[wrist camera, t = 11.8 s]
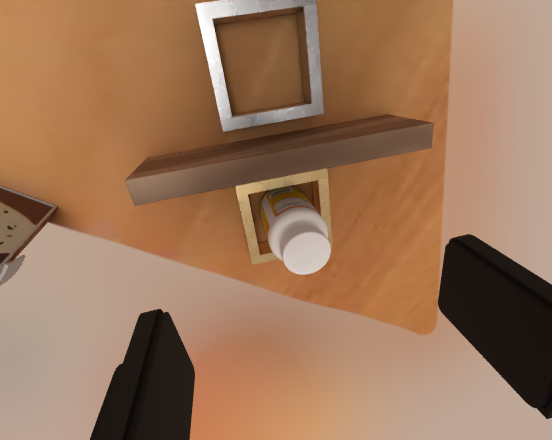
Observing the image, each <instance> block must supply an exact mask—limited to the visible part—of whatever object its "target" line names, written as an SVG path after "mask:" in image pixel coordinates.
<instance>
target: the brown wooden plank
mask: <svg viewBox="0 0 552 440" xmlns="http://www.w3.org/2000/svg"><path fill="white" fill-rule="evenodd" d="M433 126H434V123H432V122H426V121H421V120H415V119H410V118H404V117H398V116H393V115H383V116H378V117H372V118H367V119H361V120H356V121H350V122H345V123H339V124H334V125H328V126H323V127H317V128H312V129H306V130H301V131H295V132H289V133H284V134H278V135H273V136H267V137H262V138H256V139H251V140H245V141H240V142H234V143H229V144H223V145H218V146H212V147H207V148H201V149H196V150H190V151H184V152H179V153H173V154H168V155H162V156H157V157H151V158H147V159H146V160H145V161H144V162H143V163H142V164H141V165H140V166H139V167H138V168H137V169H136V170H135V171H134V172H133V173H132V174H131V175H130V176H129V177H128V178H127V179H126V180H125V182H126V185H127V187H128V190H129V193H130V195H131V198H132V200H133V203H134V205H135V206H136V205H142V204H147V203H152V202H157V201H162V200H167V199H172V198H177V197H183V196H188V195H193V194H198V193H203V192H208V191H213V190H218V189H224V188H229V187H234V186H239V185H244V184H249V183H254V182H259V181H264V180H270V179H275V178H280V177H285V176H290V175H295V174H300V173H305V172H311V171H316V170H321V169H326V168H331V167H336V166H341V165H346V164H352V163H357V162H362V161H367V160H372V159H377V158H382V157H387V156H393V155H398V154H403V153H408V152H413V151H418V150H423V149H428V148H431V147H432V136H433Z"/></svg>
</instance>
